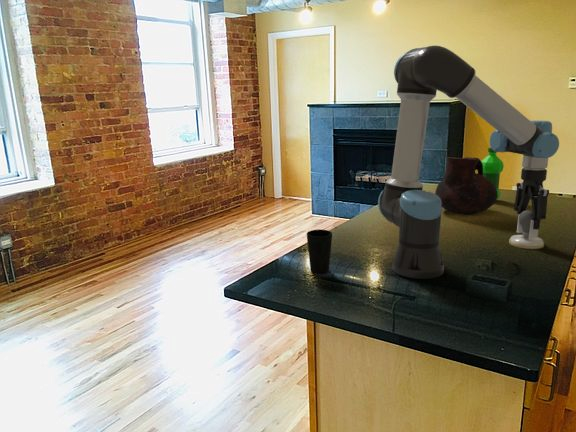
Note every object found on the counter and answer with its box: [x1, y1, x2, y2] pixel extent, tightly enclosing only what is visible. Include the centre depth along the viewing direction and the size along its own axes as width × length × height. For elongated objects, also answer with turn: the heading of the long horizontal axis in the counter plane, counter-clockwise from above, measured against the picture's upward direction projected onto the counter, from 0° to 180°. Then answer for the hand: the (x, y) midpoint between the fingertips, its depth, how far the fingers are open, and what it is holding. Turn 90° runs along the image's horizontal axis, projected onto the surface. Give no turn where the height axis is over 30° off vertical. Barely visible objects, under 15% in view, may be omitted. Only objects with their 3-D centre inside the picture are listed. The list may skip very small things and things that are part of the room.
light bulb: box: [519, 209, 533, 239], centre depth 162 cm, size 6×6×10 cm
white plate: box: [508, 234, 545, 250], centre depth 164 cm, size 11×11×2 cm
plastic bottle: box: [480, 147, 505, 199], centre depth 223 cm, size 10×10×25 cm
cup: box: [306, 229, 333, 275], centre depth 143 cm, size 8×8×12 cm
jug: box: [434, 156, 498, 216], centre depth 203 cm, size 25×25×25 cm
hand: (526, 234), depth 163 cm, fingers closed on light bulb, 6 cm apart
